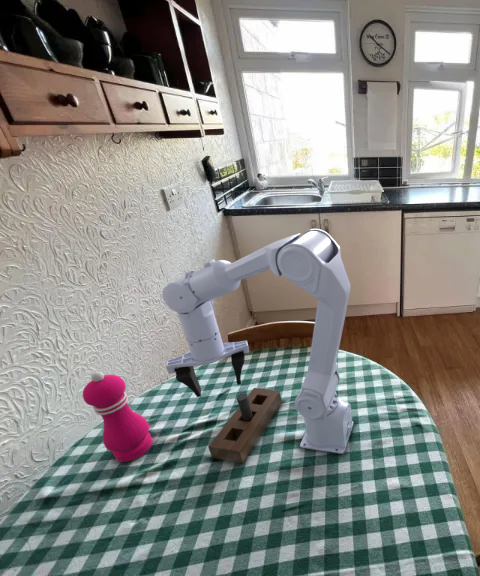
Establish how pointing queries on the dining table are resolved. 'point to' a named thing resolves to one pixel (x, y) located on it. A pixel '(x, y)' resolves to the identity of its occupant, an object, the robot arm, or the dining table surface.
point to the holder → (245, 427)
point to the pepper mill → (117, 417)
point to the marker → (245, 407)
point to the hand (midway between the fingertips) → (219, 387)
